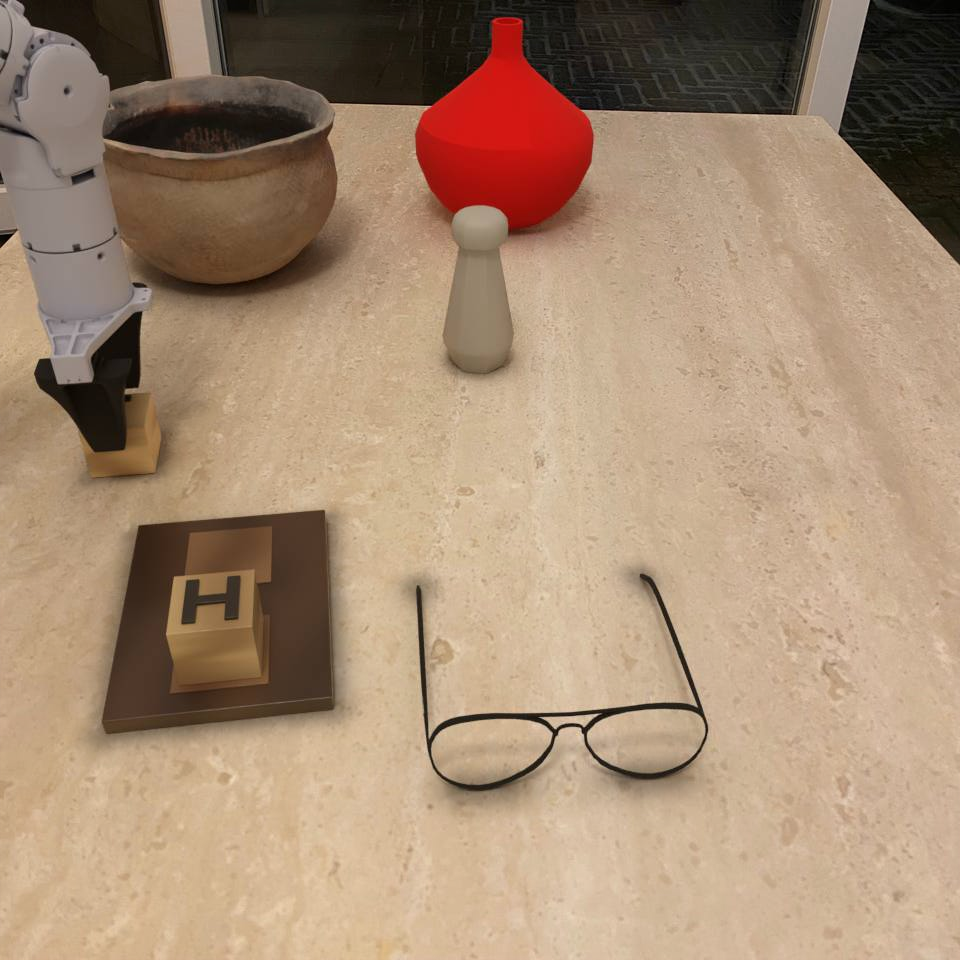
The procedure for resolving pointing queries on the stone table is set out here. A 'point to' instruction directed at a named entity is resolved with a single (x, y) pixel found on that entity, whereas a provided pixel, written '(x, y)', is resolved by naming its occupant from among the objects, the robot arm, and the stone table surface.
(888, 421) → the stone table surface
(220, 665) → the tile
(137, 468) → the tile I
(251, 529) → the word board
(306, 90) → the ceramic bowl
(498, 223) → the salt shaker
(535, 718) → the glasses
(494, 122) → the vase
